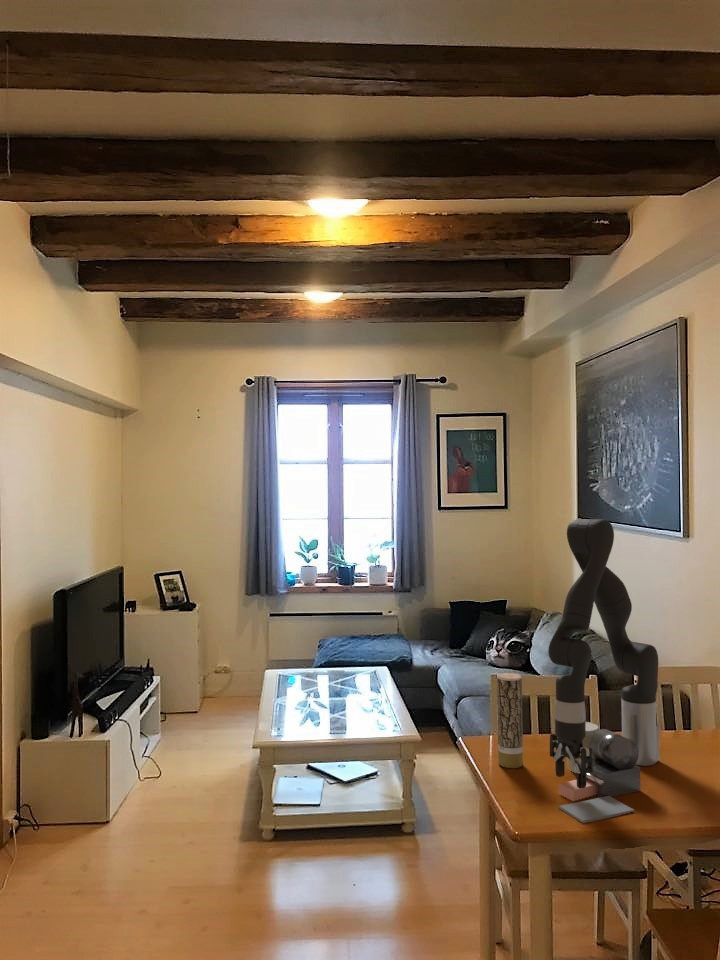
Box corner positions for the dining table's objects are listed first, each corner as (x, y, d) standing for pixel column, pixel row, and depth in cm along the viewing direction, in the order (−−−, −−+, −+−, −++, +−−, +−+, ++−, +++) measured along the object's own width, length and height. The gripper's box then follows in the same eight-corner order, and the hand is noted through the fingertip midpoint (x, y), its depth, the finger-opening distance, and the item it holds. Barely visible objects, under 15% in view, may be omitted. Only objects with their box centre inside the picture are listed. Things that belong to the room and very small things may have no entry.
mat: (608, 798, 194) (608, 795, 194) (634, 812, 186) (634, 809, 186) (559, 808, 188) (559, 806, 188) (583, 823, 180) (582, 820, 180)
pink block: (598, 784, 204) (598, 773, 204) (613, 791, 199) (613, 779, 199) (559, 795, 197) (558, 784, 197) (573, 802, 192) (573, 790, 193)
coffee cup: (587, 761, 219) (586, 719, 220) (607, 773, 211) (606, 729, 211) (558, 765, 217) (557, 722, 217) (577, 777, 208) (576, 732, 208)
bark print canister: (507, 770, 213) (506, 679, 213) (493, 762, 219) (492, 674, 220) (527, 767, 216) (526, 677, 216) (513, 759, 222) (512, 671, 222)
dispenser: (613, 776, 208) (612, 726, 208) (641, 790, 198) (640, 738, 198) (573, 784, 203) (573, 732, 203) (600, 799, 193) (599, 745, 193)
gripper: (600, 723, 191) (601, 789, 191) (565, 708, 205) (565, 770, 204) (575, 727, 188) (576, 794, 188) (541, 711, 202) (541, 774, 201)
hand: (570, 781), depth 196 cm, fingers open, 8 cm apart
